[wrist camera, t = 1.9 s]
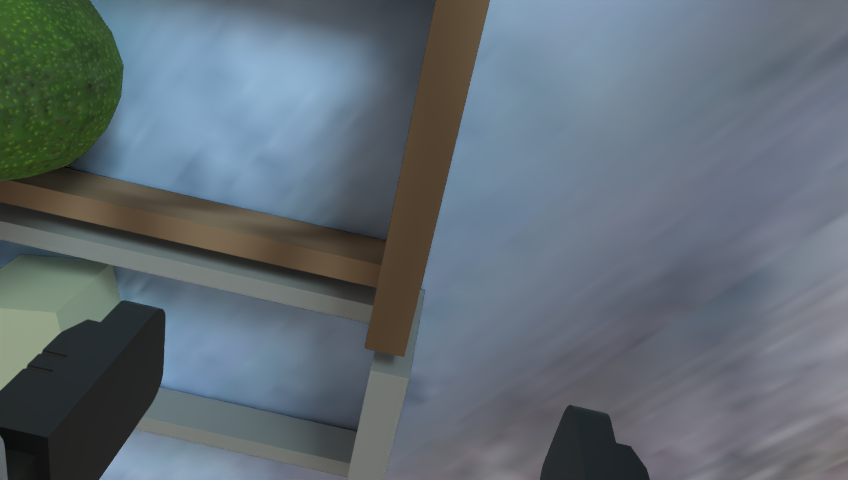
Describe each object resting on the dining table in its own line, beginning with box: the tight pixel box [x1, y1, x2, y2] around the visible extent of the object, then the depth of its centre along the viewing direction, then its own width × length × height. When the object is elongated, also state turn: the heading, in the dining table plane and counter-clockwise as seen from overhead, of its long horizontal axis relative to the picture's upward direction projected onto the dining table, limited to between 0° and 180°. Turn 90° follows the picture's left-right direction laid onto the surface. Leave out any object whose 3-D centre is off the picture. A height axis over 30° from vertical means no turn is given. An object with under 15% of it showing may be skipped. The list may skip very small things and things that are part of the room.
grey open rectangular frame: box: [0, 202, 425, 480], centre depth 32 cm, size 24×11×7 cm, turn 78°
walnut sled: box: [0, 0, 490, 357], centre depth 26 cm, size 24×14×7 cm, turn 78°
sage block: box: [0, 255, 121, 390], centre depth 33 cm, size 5×5×5 cm
